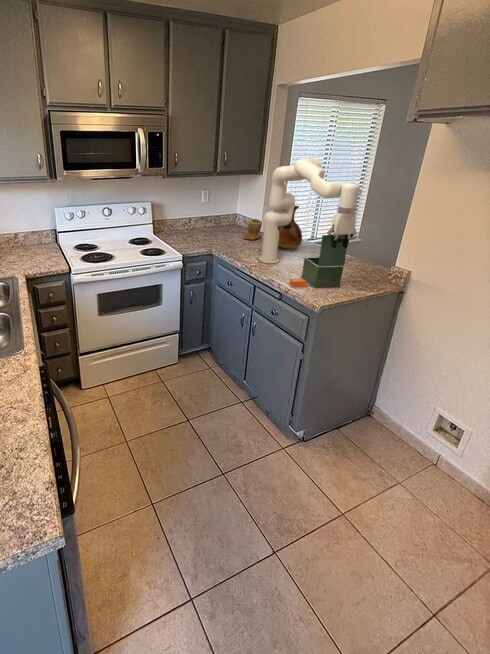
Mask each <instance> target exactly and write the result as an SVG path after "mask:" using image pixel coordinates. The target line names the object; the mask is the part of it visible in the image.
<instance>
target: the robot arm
mask: <svg viewBox="0 0 490 654" xmlns="http://www.w3.org/2000/svg"><path fill="white" fill-rule="evenodd" d="M322 166H323V165H322V162H321V160H319V159H318V158H314V157H307V158H300V159H298V160H297V161H296V162H295V163H294V165H283V166H278V167H277V168H275V169H274V171H273V173H272V174H271V175H272V176H271V189H270V193H269V194H270V195H269V201H268V207H269V208H270V209H271V210H272V211H271V210H270V211H268V212H266V213H265V214H264V215H263V218H262V220H263V222H262V223H263V234H262V245H261V253H260V254H261V256H260V255H259V257H258V261H259V262H261V263H264V264H277V263H279V262H280V259H279V258H278V249H279V246H278V242H279V231H278V229H277V227H278V226H284V225H288V224H289V223H290V222H291V219H292V215H293V211H294V206H296V199H295V196H294V194H292V193H291V192H287V189H288V185H287V183H286V182H300V181H304V180H306V181H307V182H309V183H310V184H309V185H310V188H311V190H312V191H313V192H314V193H315V194H316V195H318V196H319V197H320V198H323V199H335V198H336V199H337V198H339V201H338V206H337V211H336V212H335V213H334V215H333V218H332V221H331V224H330V228H329V230H328V231H327V232H326V235H329V236H330V237H331V239H332V243H331V247H333V248H336V246H337V238H338V236H339V235H345V238H344V239H345V242H343V245H342V246H343V247H345V248H347V249H348V246H349V243H350V241H351V240H352V238H353V237H354V236H355V235H357V234H358V232H357V229H356V222H357V221H356V220H357V216H356V212H357V211H358V208H357V204H358V199H359V196H360V195H359V194H360V189H361V187H360V185H359V184H356V183H349V182H347V181H326V180H325V179H324V178H325V174H326V172H325V170H324V169H323V168H322Z"/></svg>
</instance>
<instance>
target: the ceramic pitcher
mask: <svg viewBox="0 0 490 654" xmlns="http://www.w3.org/2000/svg"><path fill="white" fill-rule="evenodd" d="M299 208H300V205H295V206H294V211H293V215H292V219H291V222H290V223H289V224H288V225H284V226H278V227H277V229H278V231H279V242H278V247H280V248H285V249H290V250H293V249H296V248H298V247H301V245H302V241H303V232H302V230H301V227H300V226H299V225H298V222H297V223H296V221H295V215H296V211H297V209H299Z"/></svg>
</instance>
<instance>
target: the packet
mask: <svg viewBox="0 0 490 654" xmlns="http://www.w3.org/2000/svg"><path fill="white" fill-rule="evenodd" d="M289 280H290V281H289V284H290V285H291V286H292V287H293V288H305V287H307V285H308V284H307V283H308V282H307V281H306V280H305V279H303V278H302V277H301V278H300V277H299V278H298V277H297V278H290V279H289Z"/></svg>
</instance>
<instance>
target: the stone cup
mask: <svg viewBox="0 0 490 654" xmlns="http://www.w3.org/2000/svg"><path fill="white" fill-rule="evenodd" d="M262 224H263V222H262V220H260V219H258V218H251V219H250V220H249V221H248V225H247V230H248V233H247V234H245V235H243V238H244V239H246V240H251V241H254V240H255V241H256V240H257V239H259V238H260V237H262V235H261V234H260V233H259V232H260V230H261V228H262Z"/></svg>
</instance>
